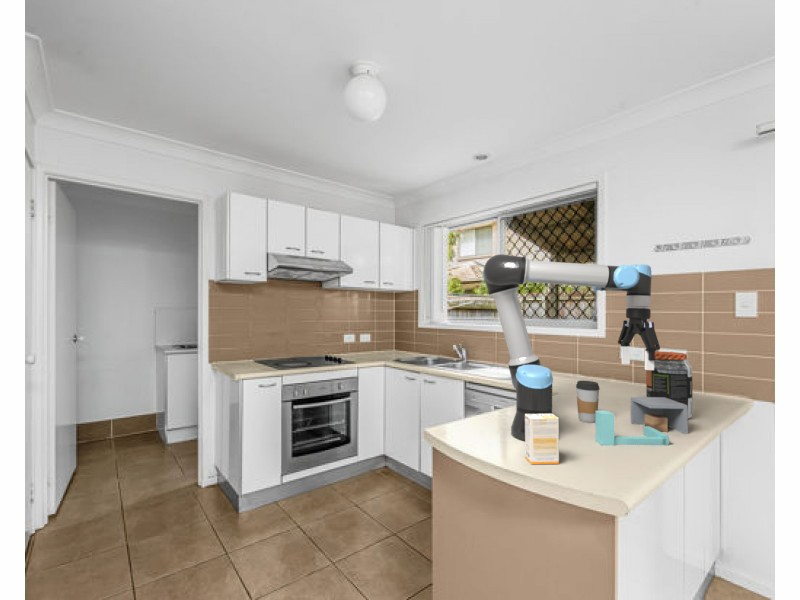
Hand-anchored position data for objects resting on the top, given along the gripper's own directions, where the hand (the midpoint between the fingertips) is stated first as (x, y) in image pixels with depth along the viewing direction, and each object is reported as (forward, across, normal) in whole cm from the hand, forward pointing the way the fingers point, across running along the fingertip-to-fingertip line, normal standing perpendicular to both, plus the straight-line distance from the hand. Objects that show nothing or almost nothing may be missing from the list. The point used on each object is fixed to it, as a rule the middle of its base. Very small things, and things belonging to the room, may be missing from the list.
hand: (636, 366), depth 139 cm
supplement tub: (+23, +21, -27) cm, 41 cm away
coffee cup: (+24, +12, +11) cm, 29 cm away
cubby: (+23, +4, -11) cm, 26 cm away
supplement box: (+24, -28, +44) cm, 58 cm away
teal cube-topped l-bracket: (+23, -9, +9) cm, 26 cm away
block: (+23, +2, -9) cm, 25 cm away
